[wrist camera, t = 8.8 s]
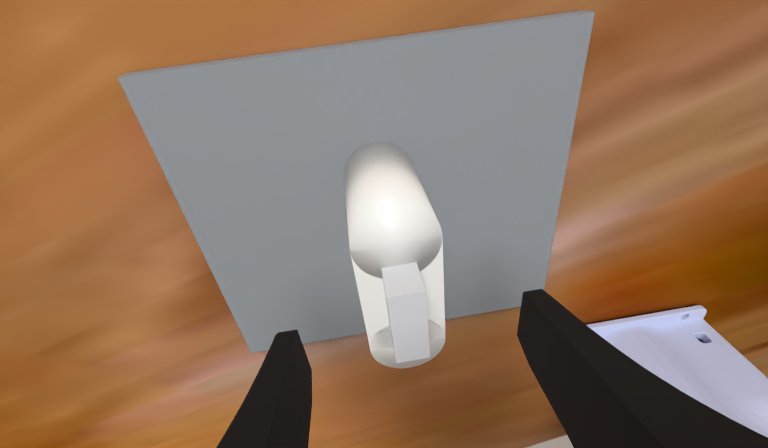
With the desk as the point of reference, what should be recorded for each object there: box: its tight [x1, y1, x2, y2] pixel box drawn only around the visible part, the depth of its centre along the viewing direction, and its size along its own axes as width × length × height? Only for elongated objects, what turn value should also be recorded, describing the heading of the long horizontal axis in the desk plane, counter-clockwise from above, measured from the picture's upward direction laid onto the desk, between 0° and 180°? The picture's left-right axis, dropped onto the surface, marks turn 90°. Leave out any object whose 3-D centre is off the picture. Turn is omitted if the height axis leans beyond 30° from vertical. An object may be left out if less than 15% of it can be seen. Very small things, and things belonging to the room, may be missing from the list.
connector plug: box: [344, 142, 445, 368], centre depth 15 cm, size 3×8×6 cm, turn 6°
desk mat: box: [118, 10, 595, 353], centre depth 18 cm, size 17×15×1 cm
